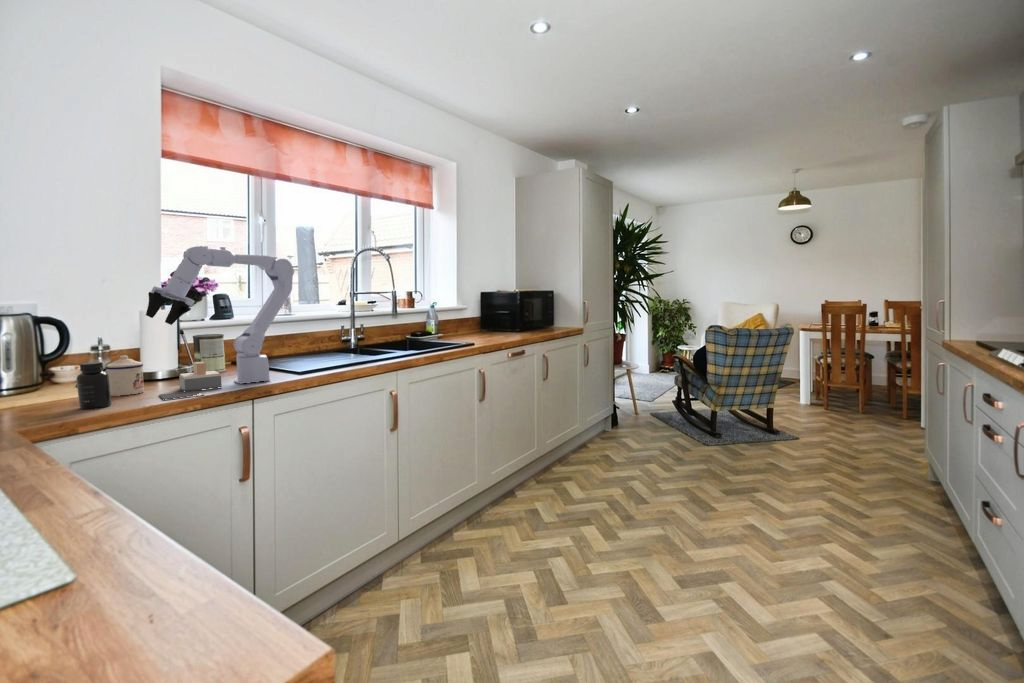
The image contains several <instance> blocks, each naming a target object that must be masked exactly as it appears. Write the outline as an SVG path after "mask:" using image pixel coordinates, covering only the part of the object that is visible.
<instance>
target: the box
mask: <svg viewBox="0 0 1024 683" xmlns="http://www.w3.org/2000/svg"><path fill="white" fill-rule="evenodd" d="M178 378H179V389H180V390H181V389H182V390H181V391H182V392H184V391H193V390H202V389H209V388H218V387H222V376H221V375H220V376H213V377H203V378H194V379H184V378H182V377H180V375H179V377H178ZM222 388H223V387H222ZM202 391H203V390H202Z"/></svg>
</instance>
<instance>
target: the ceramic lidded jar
mask: <svg viewBox="0 0 1024 683" xmlns="http://www.w3.org/2000/svg"><path fill="white" fill-rule="evenodd" d="M105 366H106V367H105V369H106V373H107V374H108V375H109V383H110V392H111V397H120V396H119V395H129V396H131V395H130V394H136V395H138V394H137V393H140V394H142V392H143V393H144V392H145V384H144V374H143V373H144V371H143V367H144V364H143V362H141V361H136V360H134V359H133V358H129V356H128V355H127V354H126V355H125V354H124V355H120V356H119V359H116V360H114V361H113V362H111V363H108V364H106V365H105Z"/></svg>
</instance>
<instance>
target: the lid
mask: <svg viewBox="0 0 1024 683" xmlns="http://www.w3.org/2000/svg"><path fill="white" fill-rule="evenodd" d="M192 366H193V372H187V373H180V374H179V376H180V377H182V378H184V379H194V378H203V377H213V376H221V372H216V371H206V365H205V363H204V362H195V361H194V362H192Z"/></svg>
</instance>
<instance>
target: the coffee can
mask: <svg viewBox="0 0 1024 683" xmlns="http://www.w3.org/2000/svg"><path fill="white" fill-rule="evenodd" d="M224 336H225V335H224V334H222V333H207V334H195V335H192V339H193V340H192V342H193V352H194V353H193V355H194V362H204V363H205V365H206V371H216V372H218V373H223V372H225V371H226V357H225V341H224V340H225V339H224Z"/></svg>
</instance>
